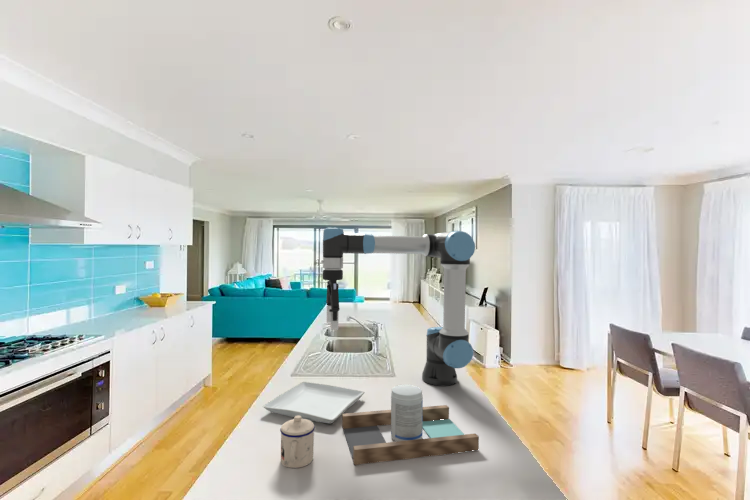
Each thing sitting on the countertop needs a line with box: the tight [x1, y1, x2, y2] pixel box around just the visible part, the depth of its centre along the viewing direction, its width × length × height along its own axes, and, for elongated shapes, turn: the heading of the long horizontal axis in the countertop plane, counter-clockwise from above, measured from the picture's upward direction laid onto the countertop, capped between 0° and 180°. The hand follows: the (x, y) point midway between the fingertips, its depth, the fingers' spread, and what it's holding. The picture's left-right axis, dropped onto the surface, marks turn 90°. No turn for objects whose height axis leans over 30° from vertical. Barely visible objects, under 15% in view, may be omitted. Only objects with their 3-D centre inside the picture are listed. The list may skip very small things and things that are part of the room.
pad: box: [422, 418, 465, 438], centre depth 119 cm, size 11×17×1 cm, turn 13°
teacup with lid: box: [279, 415, 315, 469], centre depth 102 cm, size 12×9×12 cm
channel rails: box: [341, 404, 480, 466], centre depth 117 cm, size 36×22×4 cm, turn 103°
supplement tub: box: [390, 384, 424, 442], centre depth 117 cm, size 10×10×15 cm
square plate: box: [262, 381, 365, 424], centre depth 138 cm, size 27×27×4 cm
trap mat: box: [342, 426, 387, 460], centre depth 114 cm, size 11×17×1 cm, turn 13°
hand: (332, 326), depth 144 cm, fingers open, 13 cm apart
